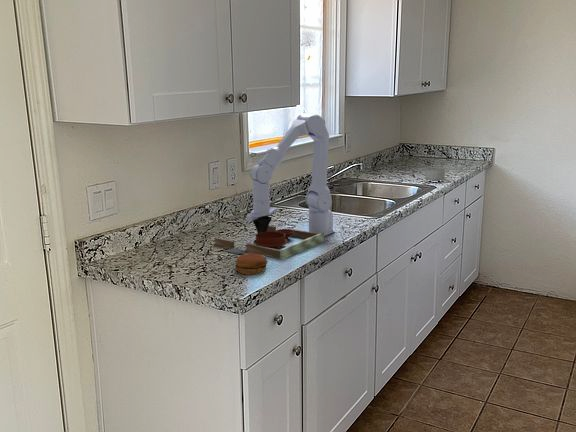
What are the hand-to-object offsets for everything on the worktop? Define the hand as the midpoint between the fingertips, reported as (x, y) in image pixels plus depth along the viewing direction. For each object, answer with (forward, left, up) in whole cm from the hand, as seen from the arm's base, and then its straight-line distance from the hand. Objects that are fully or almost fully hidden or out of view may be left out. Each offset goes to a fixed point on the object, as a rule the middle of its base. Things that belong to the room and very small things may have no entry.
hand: (262, 237), depth 201 cm
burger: (+26, +16, -2) cm, 31 cm away
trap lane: (0, +3, -2) cm, 4 cm away
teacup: (-150, +6, -2) cm, 150 cm away
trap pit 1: (+15, 0, -2) cm, 15 cm away
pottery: (0, +6, -2) cm, 6 cm away
